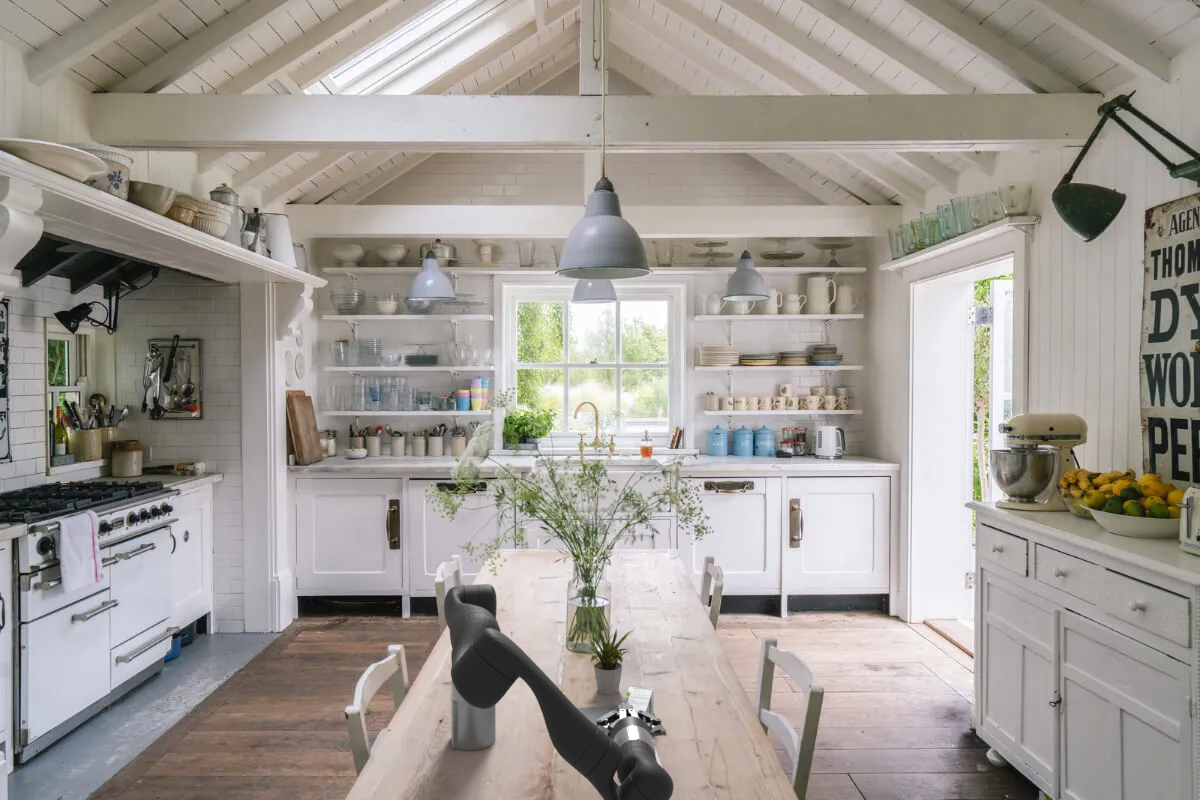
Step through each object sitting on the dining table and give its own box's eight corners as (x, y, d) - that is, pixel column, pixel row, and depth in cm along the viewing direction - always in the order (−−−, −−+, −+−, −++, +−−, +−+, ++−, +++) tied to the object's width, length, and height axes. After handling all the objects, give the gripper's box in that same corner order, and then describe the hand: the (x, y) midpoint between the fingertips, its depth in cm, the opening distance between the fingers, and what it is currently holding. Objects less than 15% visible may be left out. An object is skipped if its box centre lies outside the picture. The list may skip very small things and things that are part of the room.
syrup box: (619, 738, 171) (628, 710, 185) (646, 740, 170) (653, 711, 184) (619, 711, 170) (628, 685, 185) (646, 713, 169) (653, 687, 184)
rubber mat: (575, 742, 170) (575, 739, 170) (562, 711, 185) (562, 709, 185) (665, 733, 174) (665, 730, 174) (645, 704, 190) (645, 701, 190)
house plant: (564, 696, 194) (564, 629, 194) (586, 676, 207) (586, 614, 207) (620, 705, 189) (620, 636, 189) (638, 684, 202) (639, 620, 202)
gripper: (595, 768, 143) (592, 725, 160) (669, 767, 144) (657, 725, 161) (596, 726, 143) (592, 688, 160) (670, 726, 143) (658, 688, 161)
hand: (625, 707), depth 161 cm, fingers closed
